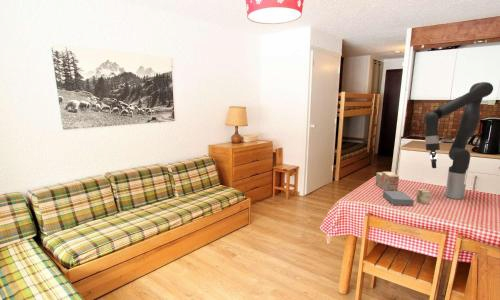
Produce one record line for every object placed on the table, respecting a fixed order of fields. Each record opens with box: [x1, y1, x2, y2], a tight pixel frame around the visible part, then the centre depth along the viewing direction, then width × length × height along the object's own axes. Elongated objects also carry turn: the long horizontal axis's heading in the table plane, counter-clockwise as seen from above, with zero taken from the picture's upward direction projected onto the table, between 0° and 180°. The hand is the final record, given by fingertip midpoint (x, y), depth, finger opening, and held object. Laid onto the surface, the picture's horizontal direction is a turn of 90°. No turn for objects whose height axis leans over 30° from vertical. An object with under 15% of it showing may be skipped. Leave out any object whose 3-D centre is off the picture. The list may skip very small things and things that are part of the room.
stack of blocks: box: [375, 171, 400, 191], centre depth 202 cm, size 21×6×12 cm, turn 179°
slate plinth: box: [382, 190, 415, 207], centre depth 176 cm, size 12×16×4 cm
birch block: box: [415, 188, 432, 205], centre depth 173 cm, size 5×5×8 cm
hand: (434, 167), depth 179 cm, fingers open, 8 cm apart
